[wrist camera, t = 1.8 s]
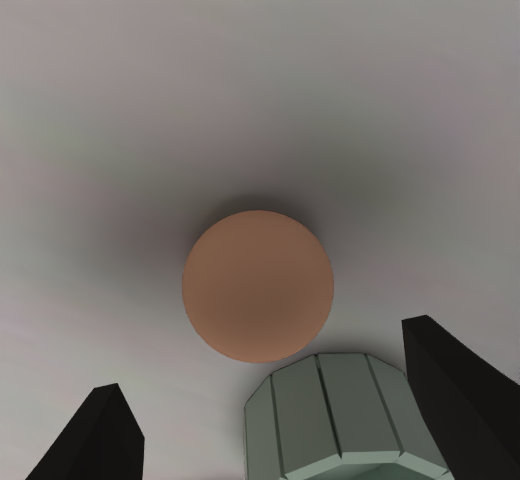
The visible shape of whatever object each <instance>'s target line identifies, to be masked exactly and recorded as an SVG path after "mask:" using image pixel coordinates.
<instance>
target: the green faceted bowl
mask: <svg viewBox="0 0 520 480" xmlns="http://www.w3.org/2000/svg"><path fill="white" fill-rule="evenodd" d="M272 374H273V376H270V375H269V376H268V377H267V379H266V380H265V381H264V382H263V383H262V385H261V386H260V387H259V388H258V390H257V391H256V392H255V393H254V395H253V396H252V397H251V398H250V399H249V401H248V402H247V403H246V404H245V405H246V407H244V431H243V444H244V470H245V480H455V479H454V477H453V475H452V473H451V471H450V470H449V468H448V466H447V464H446V462H445V460H444V458H443V456H442V455H441V453H440V451H439V449H438V447H437V445H436V443H435V441H434V440H433V438H432V436H431V434H430V432H429V430H428V428H427V426H426V424H425V422H424V420H423V418H422V416H421V413H420V411H419V408H418V406H417V403H416V401H415V398H414V396H413V393H412V390H411V388H410V385H409V383H408V380H407V378H406V376H405V374H404V373H402V371H401V370H399V369H397V368H395V367H393V366H390V365H388V364H386V363H384V362H382V361H380V360H378V359H376V358H374V357H372V356H370V355H368V354H367V355H366V356H364V354H363V353H340V354H318V355H317V356H315V357H314V355H312V356H309V357H307V358H305V359H303V360H300V361H298V362H296V363H293V364H291V365H289V366H287V367H284V368H282V369H280V370H278V371H275V372H273V373H272Z"/></svg>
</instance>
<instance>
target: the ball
mask: <svg viewBox="0 0 520 480" xmlns="http://www.w3.org/2000/svg"><path fill="white" fill-rule="evenodd" d="M333 293H334V280H333V273H332V269H331V265H330V261H329V259H328V256H327V254H326V252H325V250H324V248H323V247H322V245H321V244H320V242H319V241H318V239H317V238H316V237H315V236H314V235H313V234H312V233H311V232H310V231H309V230H308V229H307V228H306V227H305V226H303V225H302V224H300V223H299V222H297V221H296V220H294V219H292V218H290V217H287V216H285V215H282V214H279V213H276V212H271V211H262V210H254V211H245V212H240V213H237V214H233V215H230V216H228V217H226V218H224V219H222V220H220V221H219V222H217V223H215V224H214V225H213V226H212V227H210V228H209V229H208V230H206V231H205V232H204V234H203V235H202V236H201V237H200V238H199V239H198V241H197V242H196V243H195V245H194V246H193V248H192V250H191V252H190V254H189V255H188V258H187V261H186V264H185V267H184V272H183V277H182V295H183V302H184V306H185V310H186V313H187V315H188V317H189V320H190V322H191V324H192V326H193V327H194V329H195V330H196V332H197V333H198V334H199V335H200V336H201V338H202V339H203V340H204V341H205V342H206V343H207V344H208V345H209V346H211V347H212V348H213V349H215V350H216V351H218V352H220V353H221V354H223V355H225V356H227V357H230V358H232V359H235V360H239V361H243V362H250V363H266V362H272V361H277V360H280V359H283V358H286V357H288V356H291V355H293V354H295V353H296V352H298V351H299V350H301V349H303V348H304V347H305V346H306V345H307V344H309V343H310V342H311V341H312V339H313V338H314V337H315V336H316V335H317V334H318V333H319V331H320V330H321V328H322V327H323V325H324V323H325V321H326V319H327V317H328V315H329V312H330V309H331V305H332V300H333Z"/></svg>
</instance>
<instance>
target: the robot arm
mask: <svg viewBox="0 0 520 480" xmlns="http://www.w3.org/2000/svg"><path fill="white" fill-rule="evenodd" d="M401 321H402V330H403V339H404V349H405V358H406V368H407V377H408V383H409V385H410V388H411V390H412V393H413V396H414V398H415V401H416V403H417V406H418V408H419V411H420V413H421V416H422V418H423V420H424V422H425V424H426V426H427V428H428V430H429V432H430V434H431V436H432V438H433V440H434V441H435V443H436V445H437V447H438V449H439V451H440V453H441V455H442V456H443V458H444V460H445V462H446V464H447V466H448V468H449V470H450V471H451V473H452V475H453V477H454V479H455V480H520V385H518V384H517V383H515V382H514V381H512V380H511V379H510V378H508V377H507V376H505V375H504V374H502V373H501V372H500V371H498V370H497V369H495V368H494V367H493V366H491V365H490V364H489V363H487V362H486V361H485V360H483V359H482V358H480V357H479V356H478V355H476V354H475V353H474V352H473V351H471V350H470V349H469V348H467V347H466V346H465V345H464V344H462V343H461V342H460V341H459V340H457V339H456V338H455V337H454V336H452V335H451V334H450V333H449V332H448V331H446V330H445V329H444V328H443V327H442V326H440V325H439V324H438V323H437V322H436V321H434V320H433V319H432V318H431V317H429V316H428V315H422V316H418V317H413V318H409V319H404V320H401ZM144 441H145V438H144V436H143V434H142V432H141V430H140V428H139V426H138V424H137V422H136V420H135V417H134V415H133V413H132V411H131V409H130V407H129V405H128V403H127V401H126V399H125V397H124V395H123V393H122V391H121V389H120V387H119V385H118V383H115V384H110V385H106V386H101V387H97V388H94V389H93V390H92V391H91V393H90V394H89V395H88V397H87V398H86V399H85V401H84V402H83V403H82V405H81V406H80V407H79V409H78V410H77V412H76V413H75V414H74V416H73V417H72V418H71V420H70V421H69V423H68V424H67V425H66V427H65V428H64V429H63V431H62V432H61V434H60V435H59V436H58V438H57V439H56V440H55V442H54V443H53V444H52V446H51V447H50V448H49V450H48V451H47V452H46V454H45V455H44V456H43V458H42V459H41V460H40V462H39V463H38V464H37V466H36V467H35V468H34V469H33V470H32V472H31V473H30V474H29V475H28V477H27V478H26V479H25V480H142V476H143V462H144Z"/></svg>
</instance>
